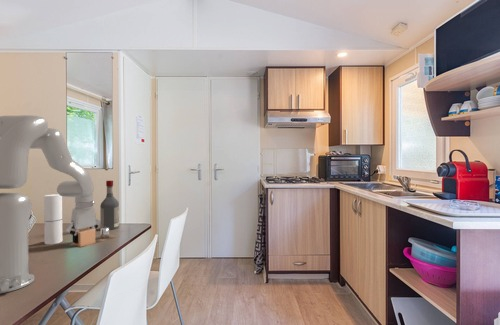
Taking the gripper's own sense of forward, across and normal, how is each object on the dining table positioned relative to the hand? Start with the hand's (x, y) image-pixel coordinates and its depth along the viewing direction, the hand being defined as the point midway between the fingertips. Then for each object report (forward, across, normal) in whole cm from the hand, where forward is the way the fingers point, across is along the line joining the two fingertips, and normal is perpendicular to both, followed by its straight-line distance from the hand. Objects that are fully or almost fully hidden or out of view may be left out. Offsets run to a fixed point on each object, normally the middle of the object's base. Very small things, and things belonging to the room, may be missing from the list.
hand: (84, 240), depth 127 cm
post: (+1, -10, 0) cm, 11 cm away
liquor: (+3, -23, -15) cm, 28 cm away
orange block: (+1, 0, 0) cm, 1 cm away
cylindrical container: (+3, +6, -15) cm, 17 cm away
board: (+3, -6, 0) cm, 6 cm away
